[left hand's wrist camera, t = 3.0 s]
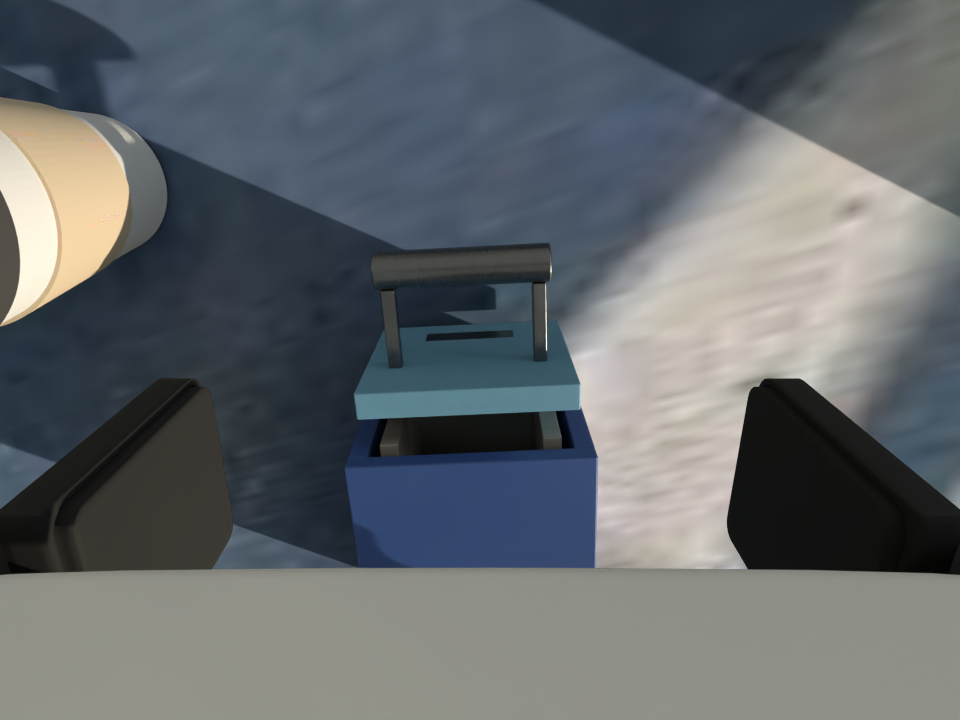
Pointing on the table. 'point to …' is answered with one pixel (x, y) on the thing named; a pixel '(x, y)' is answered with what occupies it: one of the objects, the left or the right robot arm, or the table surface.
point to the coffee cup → (69, 200)
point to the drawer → (467, 360)
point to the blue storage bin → (475, 504)
